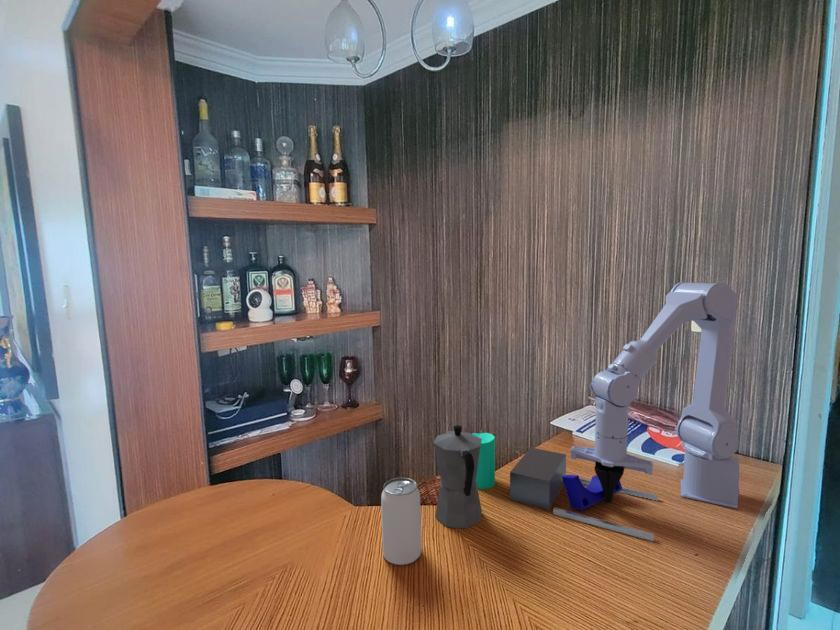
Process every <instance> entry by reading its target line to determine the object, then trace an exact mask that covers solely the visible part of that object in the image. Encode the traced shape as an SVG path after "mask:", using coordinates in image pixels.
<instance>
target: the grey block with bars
mask: <svg viewBox="0 0 840 630" xmlns="http://www.w3.org/2000/svg"><path fill="white" fill-rule="evenodd" d="M566 461H567V454H565V453H562V452H557V451H550V450H545V449H540V448H537V447H530V448H529V449H528V450H527V451H526V452H525V453H524V454H523V456H522V457H521V458H520V459H519V460H518V462H517V463H516V465H514V466H513V468H512V469H511V470H510V471H509V500H510V501H512V502H516V503H520V504H522V505H527V506H532V507H535V508H538V509H542V510H546V511H550V510H551V508H552V506H553V505H554V503H555V501H556V499H557V497H558V496H559V493H560V491H561V490H562V488H563V486H564V482H563V479H562V477H563V476H565V475H567V471H566V470H567V462H566ZM579 479H580V481H581V483H582V484H583V485H586V486H588V485H589V484H590V482H591V479H589V478H585V477H581V476H579ZM617 493H620V494H625V495H629V494H630V496H633V495H634V496H635V497H637V496H638V498H642V497H644V498H643V499H646V498H648V499H647V500H650V499H652V500H651V501H655V500H656V502H658V500H659V494H657V493H652V492H647V491H643V490H640V489H639V490H638V489H634V488H630V487H627V486H626V487H625V486H622V490H620V491H618V492H617ZM552 510H553V511H552V514H553V515H556V516H558V517H561V518H566V519H568V520H572V521H576V522H579V521H580V523H584V524H586V525H590V524H591V525H590V526H595V527H599V528H602V529H606V530H608V531H613V532H617V533H620V534H624V535H627V536H630V537H635V538H639V539H643V540H644V541H650V542H651V543H653V542H654V537H655V533H652V532H648V531H645V530H640V529H636V528H634V527H629V526H625V525H622V524H618V523H615V522H610V521H606V520H603V519H598V518H596V517H592V516H588V515H584V514H579V513H577V512H573V511H570V510H565V509H562V508H559V507H555V506H554V508H553V509H552Z"/></svg>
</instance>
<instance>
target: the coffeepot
mask: <svg viewBox="0 0 840 630" xmlns="http://www.w3.org/2000/svg"><path fill="white" fill-rule="evenodd" d="M462 429H463V426H462V425H459V424H457V425H453V429H452V430H445V433H443V434H438V435H436V437H435V439H434V442H433V447H434V454H435V460H436V465H437V472H438V475H439V477H440V483H439V490H438V495H437V496H438V497H437V501H436V502H437V503H436V507H435V508H436V510H435V518H436V519H437V521H438V522H439V523H440V524H441V525H443V526H445V527H448V528H451V529H458V530H460V529H461V530H463V529H469V528H473V527H474V526H476V525H478V524H479V523H481V520H482V514H483V513H482V511H483V510H482V504H481V500H480V494H479V489H478V487H477V483H476V476H477V469H478V462H479V455H480V447H481V441H482V439H481V438H479V437H477V436H475V435H473V433H471V432H462Z"/></svg>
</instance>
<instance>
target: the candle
mask: <svg viewBox="0 0 840 630" xmlns="http://www.w3.org/2000/svg"><path fill="white" fill-rule="evenodd" d="M482 431H483V430H480V433H477V432H472V434H473V435H475V436H477V437H479V438H481V439H482V441H481V447H480V455H479V462H478V469H477V476H476V483H477V487H478V490H480V489H481V490H486V489H491V488H493V487H494V486H495V484H496V436H495V435H493V434H492V433H490V432H482Z"/></svg>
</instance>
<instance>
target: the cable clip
mask: <svg viewBox="0 0 840 630" xmlns="http://www.w3.org/2000/svg"><path fill="white" fill-rule="evenodd" d="M579 477H580V476H579V475H578V474H576V475H575V474H566V475H565V476H563V477H562V479H563V482H564V484H563V486H564V488H565V489H564V490H565V492H566V496H567V499H568V502H569V507H570V509H575V510H581V511H583V510H585V509H587V508H590V507H591V506H593V505H595V504H596V503H598V502H600V501H602V500H605V498H604V493H603V489H602V486H601V483H600V480H599V478H598V476H597V474H595V475H593V476H591V479H590V480H591V482H590V484H589V485H586V487H585V486H584V484H582V483H581V481H580V479H579ZM622 487H623V486H622V483H621V479H620V480H619V482H618V484H617V485H616V488H615V490H614V492H613V495H614V494H616V493H619V492H618V491H620V490H622Z"/></svg>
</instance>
